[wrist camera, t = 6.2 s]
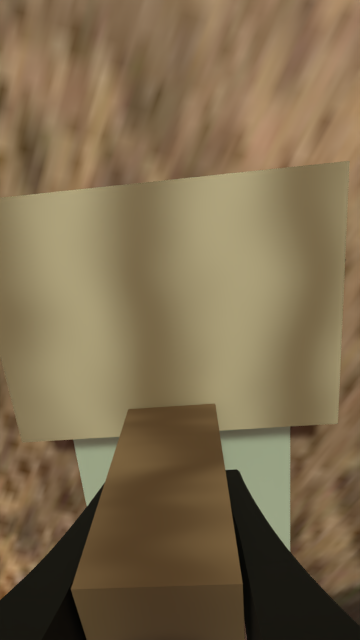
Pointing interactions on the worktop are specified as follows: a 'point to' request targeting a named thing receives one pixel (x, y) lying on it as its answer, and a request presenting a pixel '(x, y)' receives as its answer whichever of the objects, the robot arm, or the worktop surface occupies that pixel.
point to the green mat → (239, 453)
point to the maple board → (175, 300)
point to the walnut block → (163, 535)
